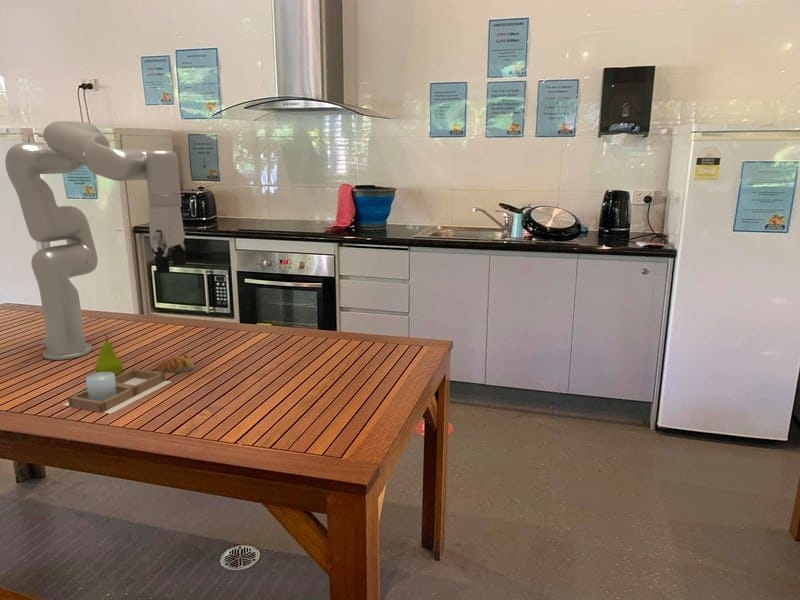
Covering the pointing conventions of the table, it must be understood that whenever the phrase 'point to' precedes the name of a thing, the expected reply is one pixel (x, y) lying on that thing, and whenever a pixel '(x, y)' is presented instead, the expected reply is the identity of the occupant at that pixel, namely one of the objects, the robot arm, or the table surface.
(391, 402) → the table surface
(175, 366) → the pastry
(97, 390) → the pale blue rounded block
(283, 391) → the table surface
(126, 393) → the tray
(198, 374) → the table surface
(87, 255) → the robot arm
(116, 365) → the fruit
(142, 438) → the table surface
